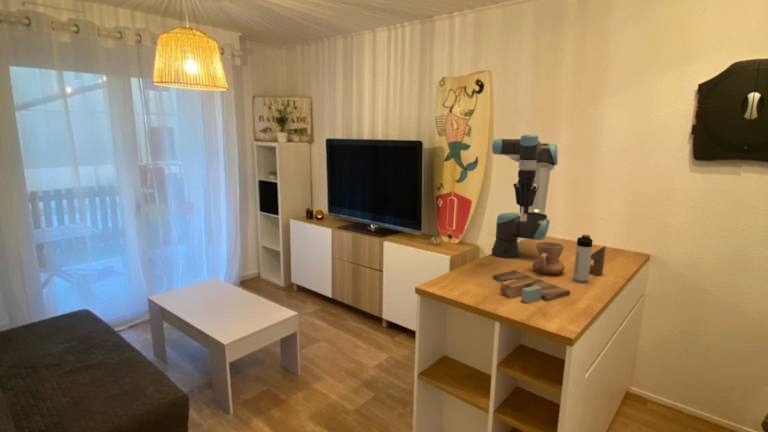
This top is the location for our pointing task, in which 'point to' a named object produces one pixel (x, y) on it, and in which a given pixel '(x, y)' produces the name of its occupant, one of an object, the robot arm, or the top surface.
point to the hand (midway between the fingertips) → (523, 220)
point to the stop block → (531, 294)
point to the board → (547, 289)
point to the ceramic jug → (549, 258)
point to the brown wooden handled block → (513, 287)
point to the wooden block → (597, 260)
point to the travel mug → (582, 259)
